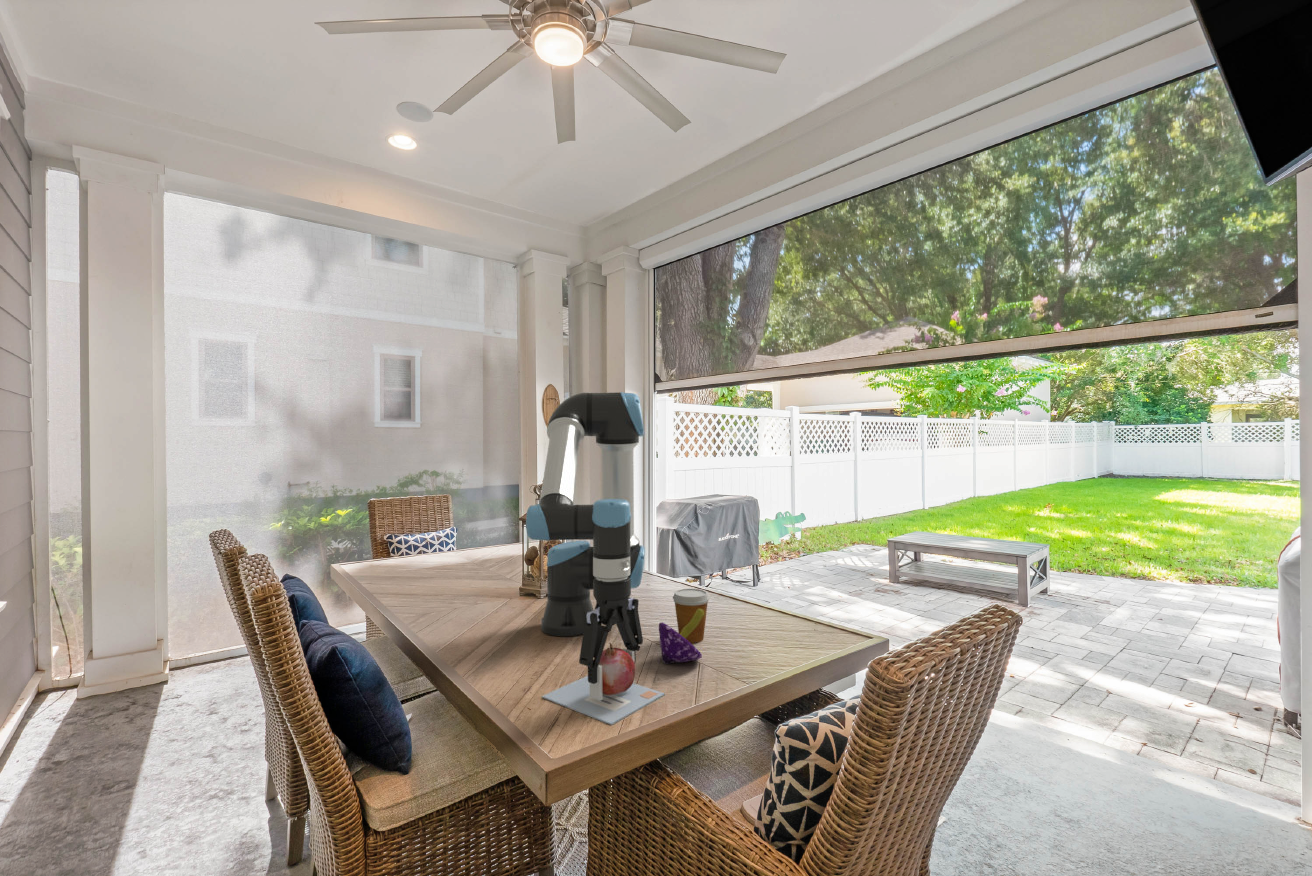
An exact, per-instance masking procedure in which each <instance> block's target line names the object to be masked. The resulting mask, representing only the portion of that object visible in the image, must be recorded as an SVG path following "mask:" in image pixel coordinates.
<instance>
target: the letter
mask: <svg viewBox="0 0 1312 876" xmlns="http://www.w3.org/2000/svg"><path fill="white" fill-rule="evenodd" d="M665 695H666V693H665V692H661V691H659V690H656V689H652V688H649V687H647V686H643V685H641V684H637V683H634V684H632V685H631V687H630V688H629V689H628V690H627V691H625V692H622V693H619V694H615V695H610V696H607V695H604V694H602V700H600V701H599V700H596V699H594V698H591V697H590V683H589V682H588V675H586V676H584V677H582V678H580V679H577V680H575V681H573V682H570V683H568V684H565V685H564V686H561V687H559V688H557V689H554V690H552V691H550V692H547V693H545V694H544V695H542V696H541V698H542V699H545V700H547V701H549V702H552V703H555V704H557V705H560V706H563V707H565V708H568V709H570V710H573V711H575V712H577V713H580V714H582V715H585V716H587V717H590V718H592V719H595V720H597V721H599V722H601V723H605V724H607V725H610V726H613V725H614V724H616V723H618V722H619V721H621V720H623V719H625V718H627V717H628V716H630V715H632V714H634V713H637V711H640V710H641V709H643V708H644V707H647V706H648V705H650V704H651V703H653V702H655V701H657V700H659V699H660V698H662V697H665Z"/></svg>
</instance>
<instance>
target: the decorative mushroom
mask: <svg viewBox="0 0 1312 876" xmlns="http://www.w3.org/2000/svg"><path fill="white" fill-rule="evenodd" d="M703 616H704V611H703V610H702V609H697V611H696V613H695V614H694V616H693V618H692V619H691V621H690V622H689V623H688V624H687V625H686V626H685V627H684V628H683V629H682V631H681V633H680V634H679V632H678V631H676V630H675V629H674V628H672V627H671V626H670V625H668V624H666V623H665V622H659V623H658V633H659V634H658V635H659V646H660V650H661V659H662V662H663V663H664V664H666V665H667V664H669V665H670V664H672V663H673V664H674V663H676V664H677V663H686V662H692V661H698V660H700V659H702V656H703V655H702V653H701V651H699V649H698V648H696V646H694V644H693V643H690V642H689V641H688V640H686V639H685V638H686V637H687V636H688V635H689V634H690V633H691V632H692V631H693V630H694V629H695V628H696V627H697V625H698V623H699V622H700V620H701V618H702V617H703Z"/></svg>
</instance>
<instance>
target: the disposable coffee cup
mask: <svg viewBox="0 0 1312 876" xmlns="http://www.w3.org/2000/svg"><path fill="white" fill-rule="evenodd" d="M672 599H673V602H674V607H675V615H676V622H677V630H678V631H677V632H678V633H679V634H680V633H681V631H682V629H683V628H684V627H685V626H686V625H687V624H688V623H689V622H690V621H691V619H692V618H693V616H694V614H695V613H696V611H697V609H702V610H703V611H704V616H703V617H702V618H701V620H700V622H699V623H698V625H697V627H696V628H695V629H694V630H693V631H692V632H691V633H690V634H689V635H688V636H687V637H686V638H685V639H686V640H688V641H689V642H690V643H691V644H695V643H700V642H702V641H704V638H705V637H704V636H705V629H706V628H705V627H706V620H707V611H708V602H709V600H710V596H709V593H708V591H707V590H704V589H700V588H680V589H677V590H675V591H674V594H673V596H672Z"/></svg>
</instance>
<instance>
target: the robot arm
mask: <svg viewBox="0 0 1312 876" xmlns="http://www.w3.org/2000/svg"><path fill="white" fill-rule="evenodd" d="M642 414H643V412H642V407H641V401H640V397H639V396H638V394H637V393H634V392H633V393H632V392H623V391H621V392H620V391H619V392H580V393H579V392H578V393H577V394H573V395H571V396H570V397H568V398H566V399H565V400H564V401H562V402H561V403H560V404H558V406H557V407H555V409H554V411H553V412H552V414H551V415H550V417H549V420H548V423H547V429H546V434H547V438H548V439H549V440H548V447H547V452H546V453H547V455H546V459H545V465H544V466H545V467H544V470H543V471H544V472H543V478H542V483H541V484H542V486H541V492H540V496H539V504H533V505H529V507H528V509H527V511H526V515H525V516H526V517H525V526H526V527H525V528H526V529H525V530H526V535H527V537H528V538H529V539H531V540H533V541H534V540H535V541H547V542H549V541H562V540H563V541H567V540H568V542H562V543H560V544H559V543H558V544H556V545H554V546H552V547H550V548H549V549H548V552H547V556H546V557H547V558H546V559H547V561H546V562H547V563H546V572H547V574H546V575H547V577H546V578H547V579H546V580H547V592H546V593H547V601H546V605H545V608H544V613H543V616H542V618H541V621H540V630H541V632H542V633H544V634H546V635H549V636H554V637H555V636H556V637H573V636H574V637H575V636H580V635H582V639H581V647H580V653H579V659H578V663H579V665H583V666H585V667H587V676H588V682H589V683H590V697H591V698H594V699H596V700H599V701H600V700H602V665H599V663H600V659H601V656H602V652H603V650H605V646H606V642H607V638H608V636H609V633H610V632H611V631H612V628H613V626H615V625H616V626H617V627H616V628H617V630H618V632H619V635H620V637H621V640H622V643H623V645H624V647H625V648H623V649H622V648H621V649H622V650H624V651H625V652H627V653H628V654H629V655H630V656H631V657H632V659H633V661H634V663H635V664H636V661H637V655H636V654H637V653H636V651H637V652H639V651H640V650H641V645H643V643H644V639H643V633H642V627H641V621H640V620H641V619H640V615H639V599H637V598H633V597H631V594H632V589H637V588H638V587H640V585H641V583H642V578H643V573H644V572H643V571H644V564H645V560H644V559H645V551H646V550H645V546H644V545H640V538H639V537H637V536H636V535H635V521H634V520H635V509H634V507H635V503H634V502H635V501H634V498H635V497H634V494H635V493H634V492H635V491H634V486H635V485H634V484H635V483H634V479H635V477H634V475H635V474H634V471H635V470H634V467H635V466H634V449H635V448H636V446H638V445H639V443H640V437H643V436H645V430H644V429H645V428H644V422H643V421H644V420H643V415H642ZM584 437H595V444H596V445H597V446H598V447H599V448H600V449H601V492H602V493H601V494H602V495H601V498H602V499H597V500H595V501H594V502H593V504H574V503H575V494H576V485H577V484H576V481H577V474H578V465H579V464H578V462H579V451H580V443H582V441H583V440H584V439H585V438H584ZM569 540H570V541H569ZM572 540H573V541H572ZM588 540H592V545H593V546H591V543H590V541H588ZM591 590H592V596H593V598H594V599H595V601H596V603H595V606H594V607H593V605H592V601H591ZM635 682H636V677H635V678H634V682H633V684H636V683H635Z"/></svg>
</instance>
